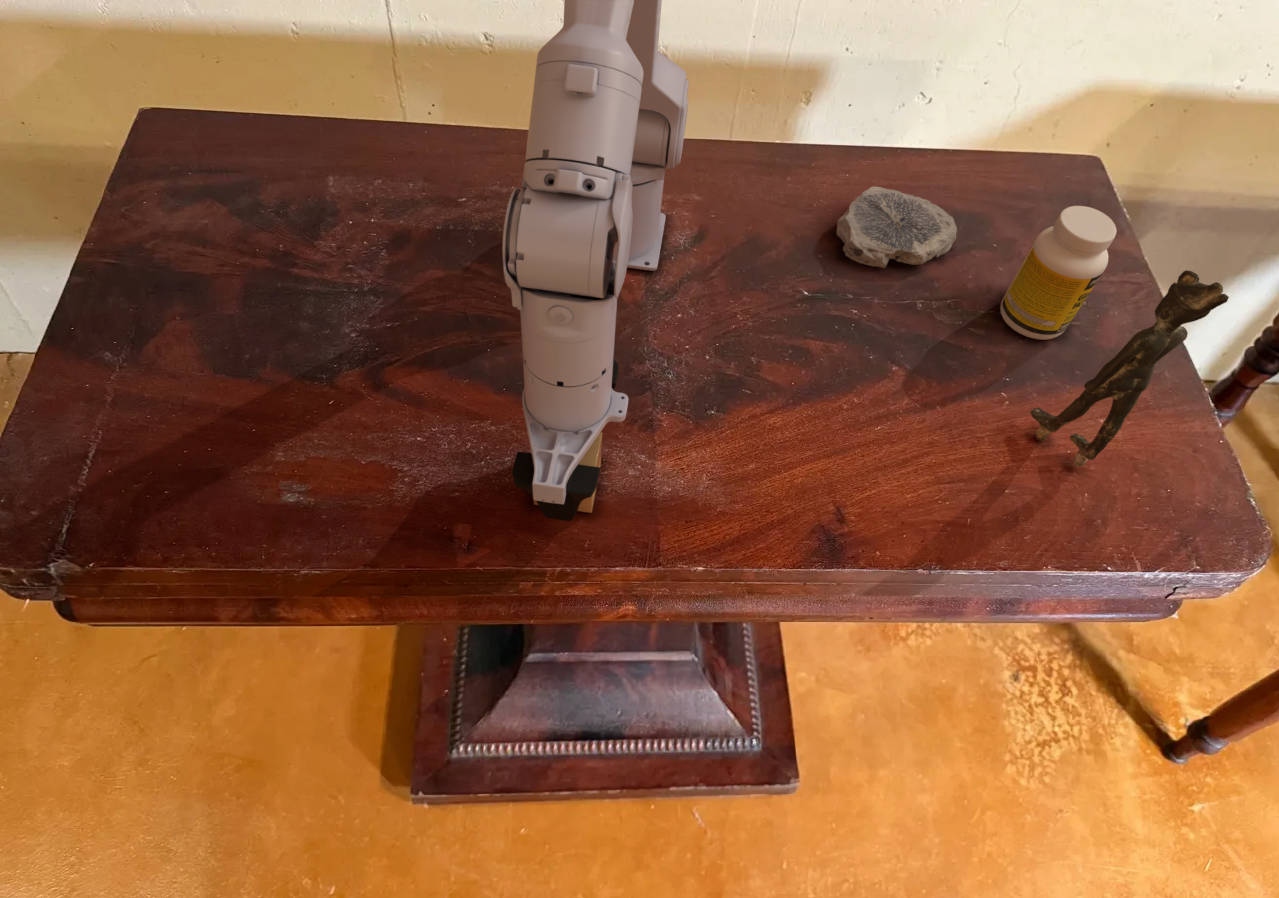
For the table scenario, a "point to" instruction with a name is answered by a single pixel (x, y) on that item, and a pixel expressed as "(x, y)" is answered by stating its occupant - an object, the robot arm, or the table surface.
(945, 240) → the fossil
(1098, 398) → the statue
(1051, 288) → the pill bottle
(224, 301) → the table surface
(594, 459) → the block
